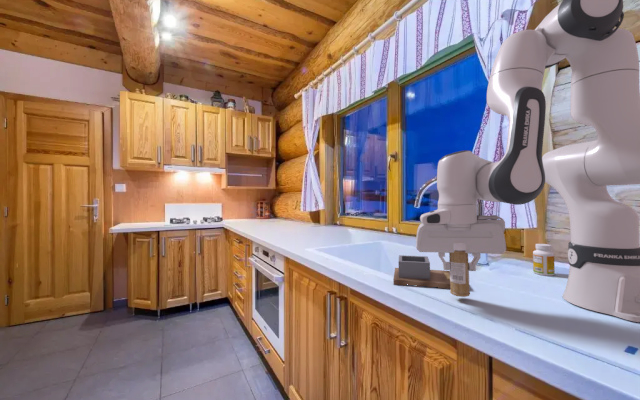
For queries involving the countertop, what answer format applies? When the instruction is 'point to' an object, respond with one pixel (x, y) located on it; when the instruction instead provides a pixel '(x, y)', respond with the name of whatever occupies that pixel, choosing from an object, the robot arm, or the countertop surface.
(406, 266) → the grey square open box
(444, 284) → the wooden board
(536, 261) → the supplement bottle
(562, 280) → the countertop surface
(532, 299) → the countertop surface
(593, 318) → the countertop surface
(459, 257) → the sprinkles bottle
